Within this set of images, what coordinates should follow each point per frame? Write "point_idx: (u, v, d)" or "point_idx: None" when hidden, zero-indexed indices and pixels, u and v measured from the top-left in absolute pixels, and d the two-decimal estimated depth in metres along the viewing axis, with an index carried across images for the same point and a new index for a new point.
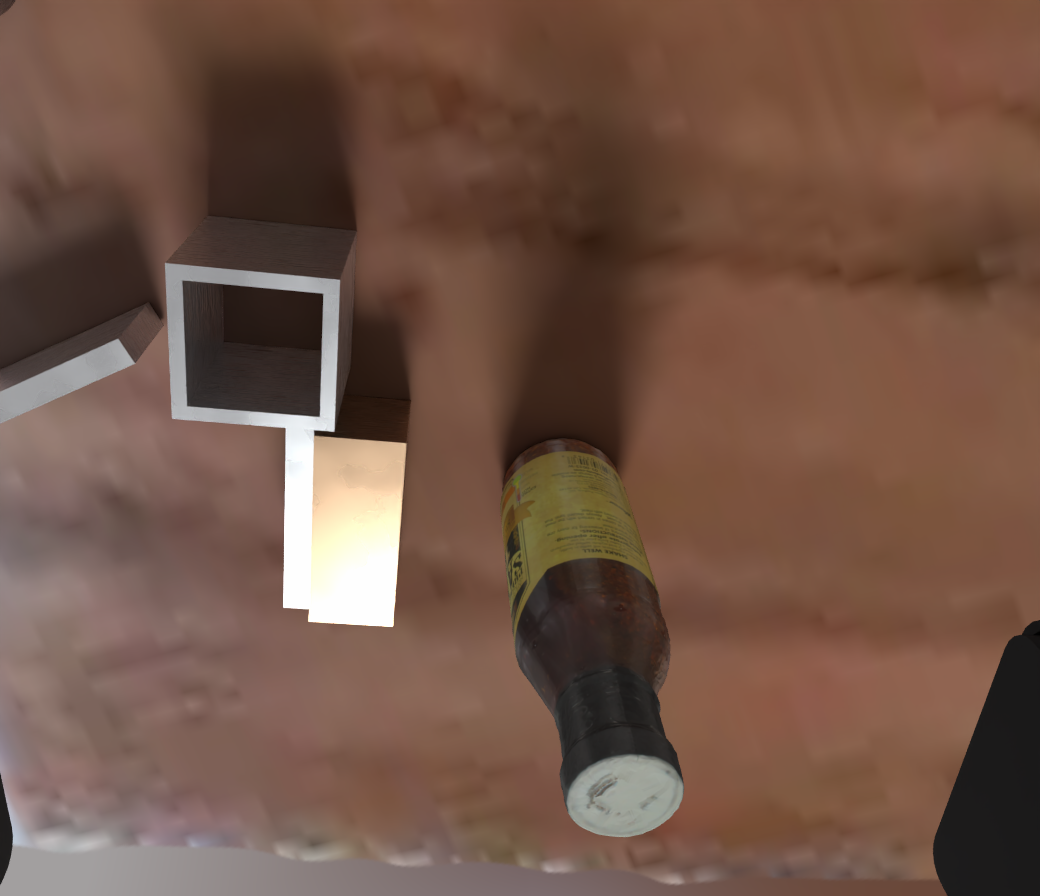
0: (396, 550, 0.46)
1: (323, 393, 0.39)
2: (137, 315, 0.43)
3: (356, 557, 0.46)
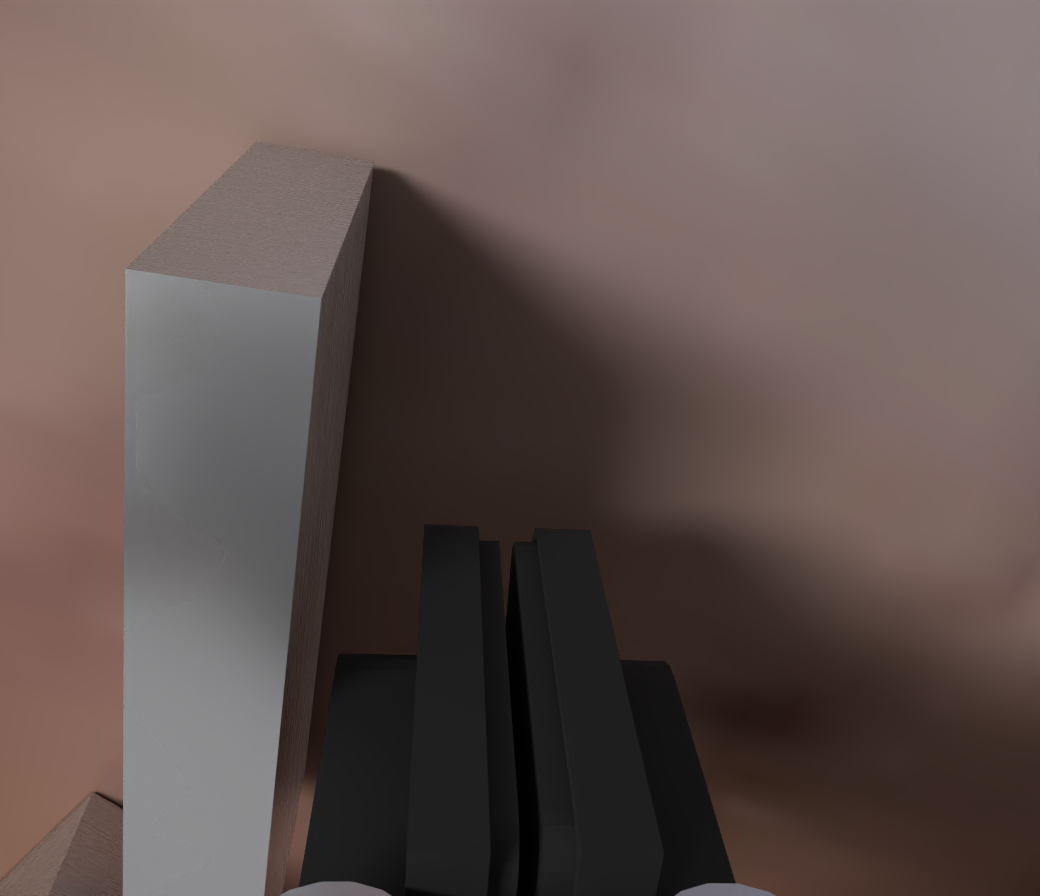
0: None
1: None
2: (286, 861, 0.12)
3: None
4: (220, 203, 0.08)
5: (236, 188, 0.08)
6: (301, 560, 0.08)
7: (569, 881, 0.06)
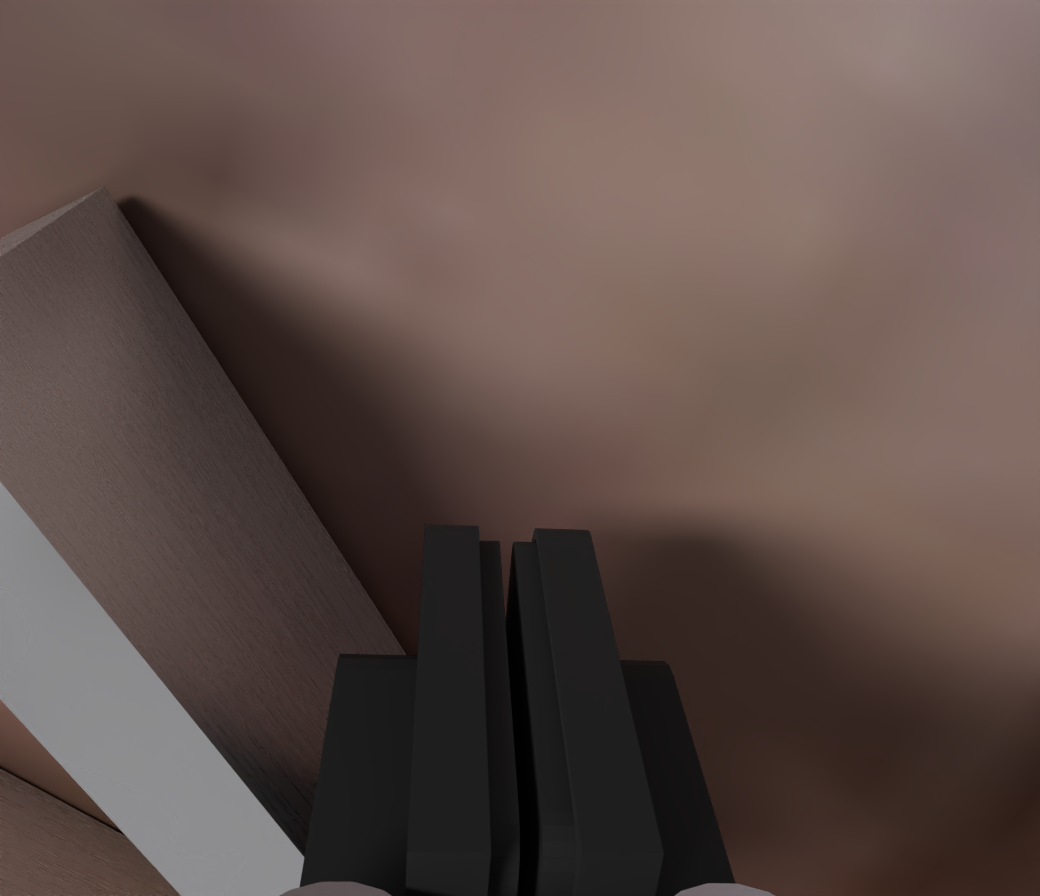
0: None
1: None
2: None
3: None
4: None
5: None
6: (110, 565, 0.08)
7: (569, 882, 0.06)
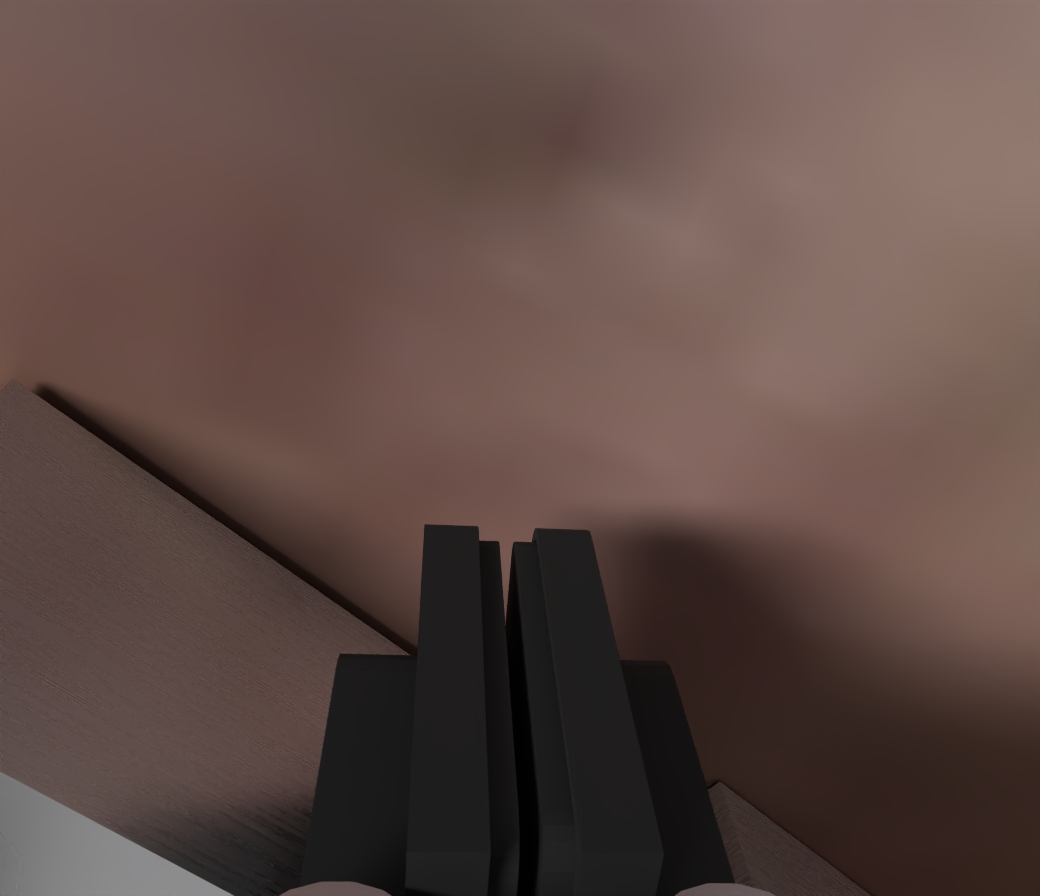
0: None
1: None
2: None
3: None
4: None
5: None
6: (67, 758, 0.08)
7: (569, 881, 0.06)
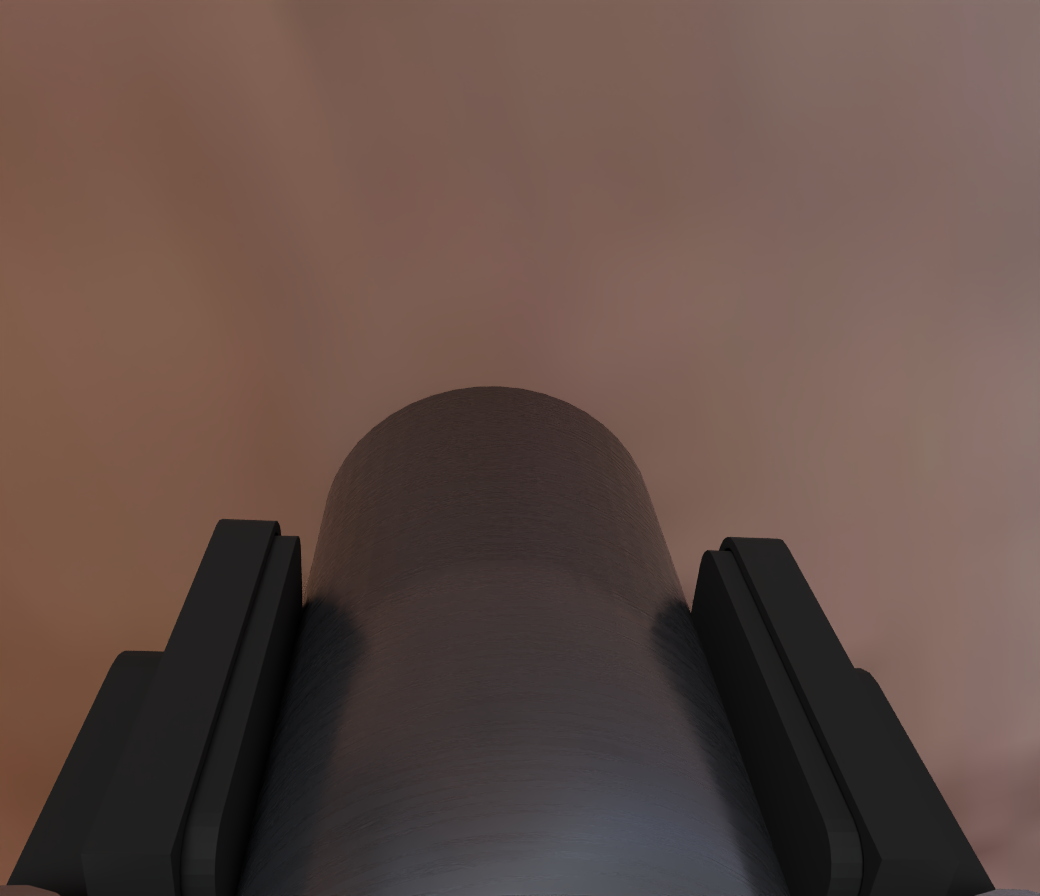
0: None
1: None
2: None
3: None
4: None
5: None
6: None
7: (857, 887, 0.06)
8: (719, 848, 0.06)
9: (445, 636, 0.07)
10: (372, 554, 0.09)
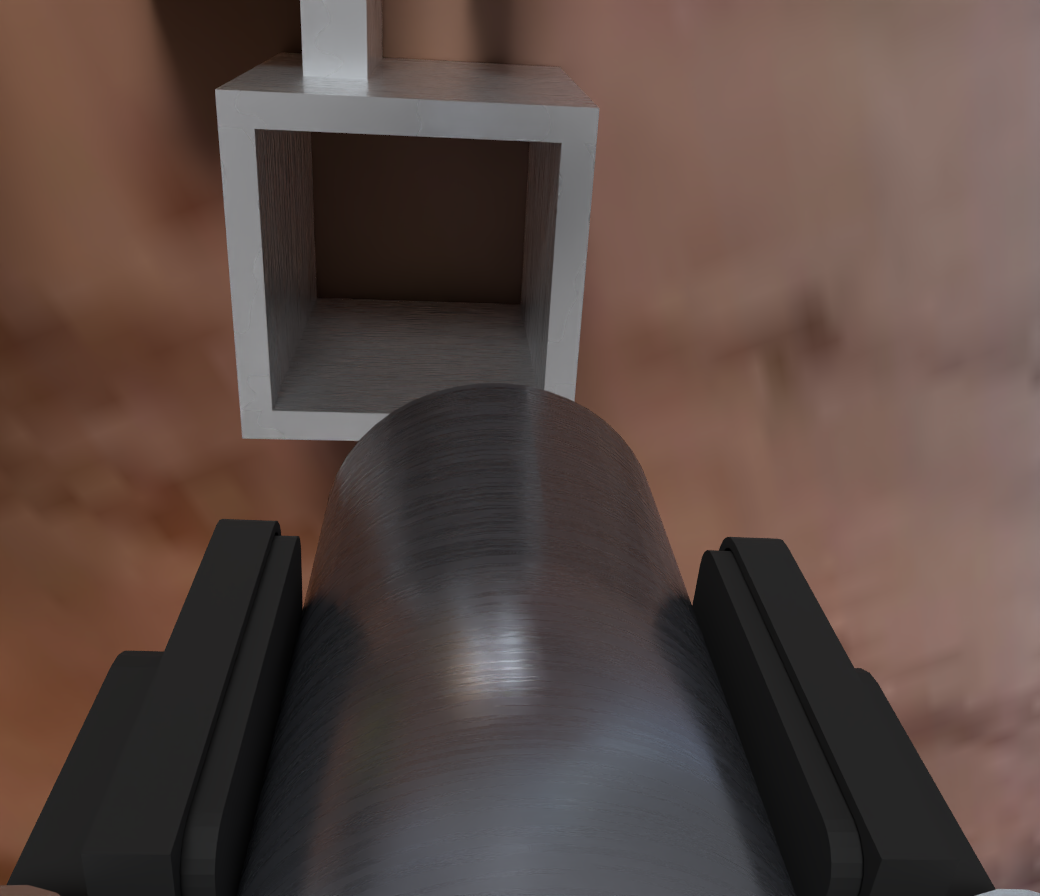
0: None
1: (251, 191, 0.17)
2: None
3: None
4: None
5: None
6: None
7: (857, 887, 0.06)
8: (722, 842, 0.06)
9: (448, 631, 0.07)
10: (374, 549, 0.09)
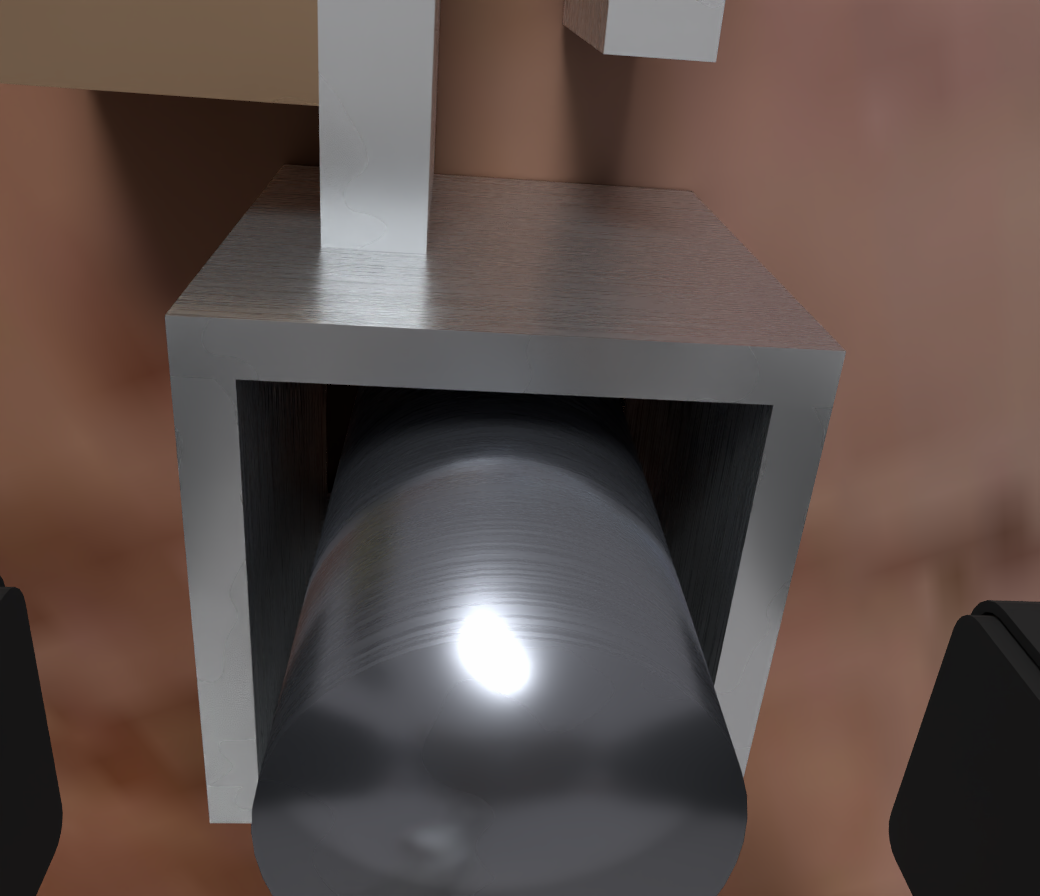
0: None
1: (229, 475, 0.10)
2: None
3: None
4: None
5: None
6: None
7: None
8: (603, 444, 0.11)
9: None
10: None
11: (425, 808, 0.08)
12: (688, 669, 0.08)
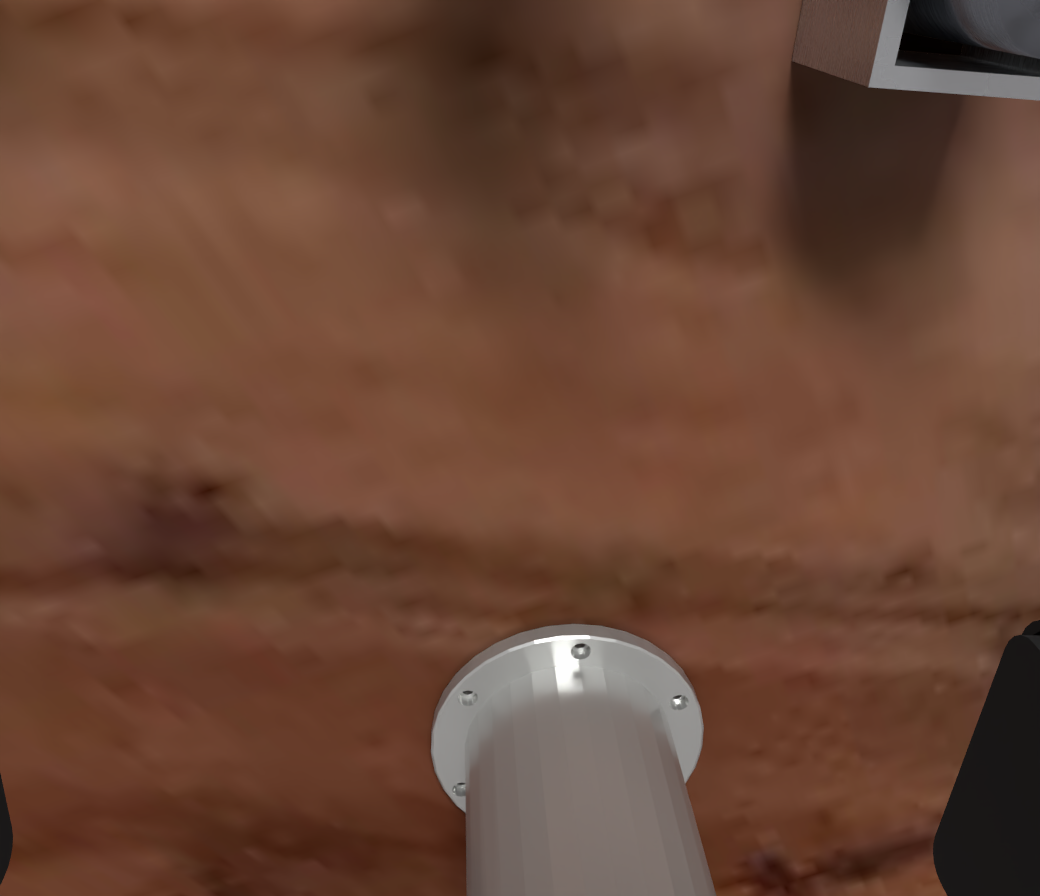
0: None
1: None
2: None
3: None
4: None
5: None
6: None
7: None
8: None
9: None
10: None
11: None
12: None
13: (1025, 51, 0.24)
